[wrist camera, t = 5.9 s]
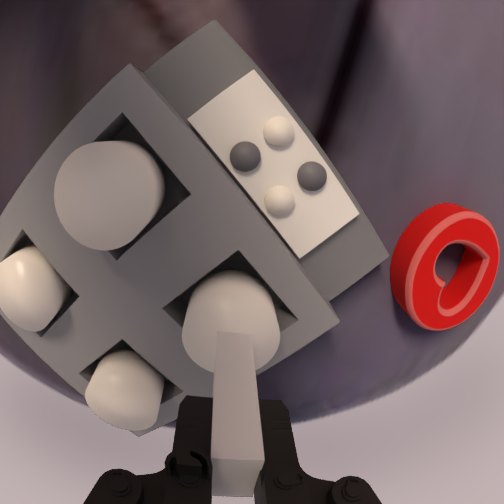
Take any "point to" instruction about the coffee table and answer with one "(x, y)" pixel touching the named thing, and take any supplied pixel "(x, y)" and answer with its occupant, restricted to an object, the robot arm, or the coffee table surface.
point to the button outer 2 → (230, 317)
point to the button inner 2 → (108, 193)
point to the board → (195, 217)
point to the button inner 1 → (31, 289)
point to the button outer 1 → (125, 391)
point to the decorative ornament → (424, 260)
